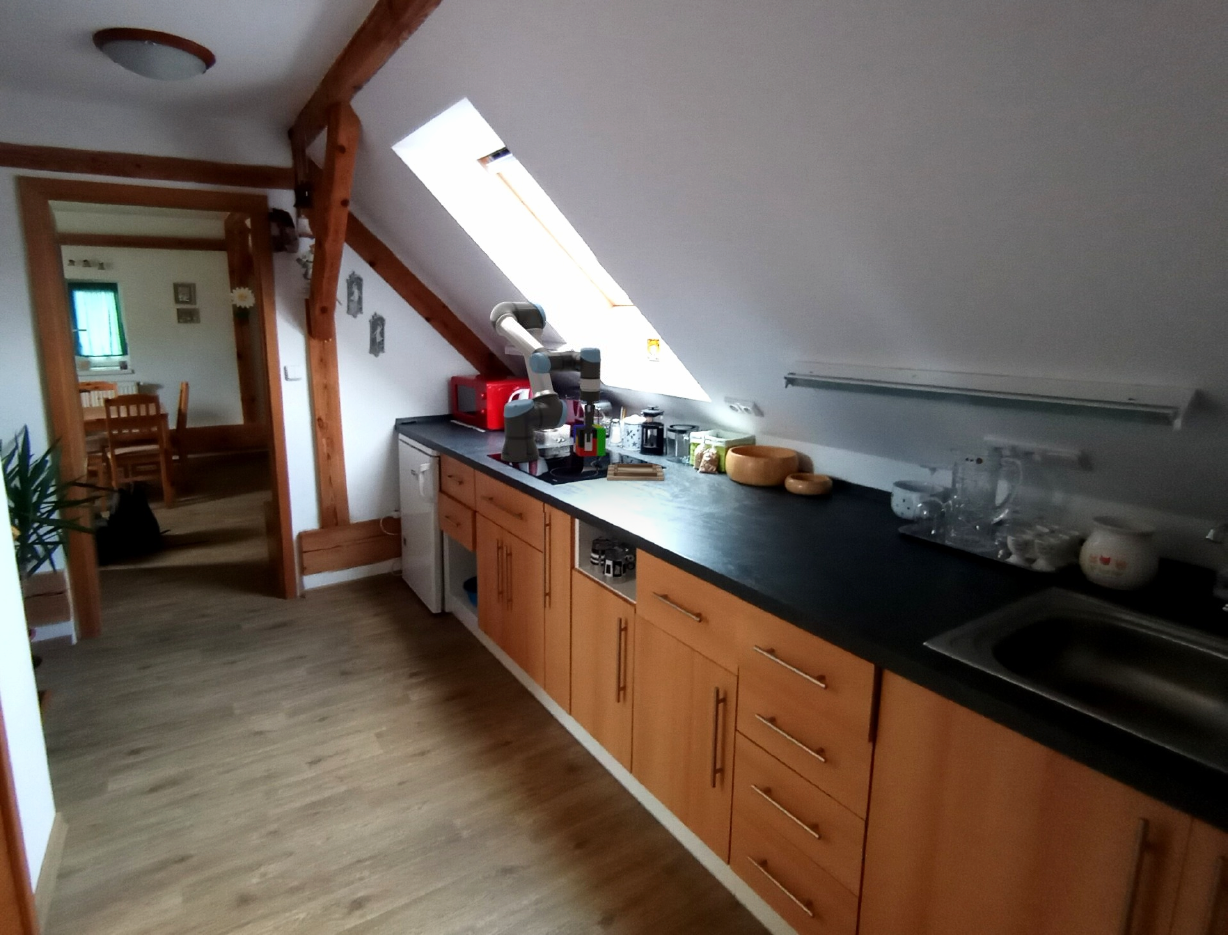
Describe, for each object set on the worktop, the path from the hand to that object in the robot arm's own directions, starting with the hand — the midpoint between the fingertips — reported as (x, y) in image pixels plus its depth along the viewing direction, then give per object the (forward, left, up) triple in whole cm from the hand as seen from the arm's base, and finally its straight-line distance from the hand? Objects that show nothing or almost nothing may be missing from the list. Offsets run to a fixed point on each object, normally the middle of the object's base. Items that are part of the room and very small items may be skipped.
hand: (589, 447), depth 265 cm
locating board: (+11, +17, -8) cm, 22 cm away
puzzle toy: (0, 0, -2) cm, 2 cm away
